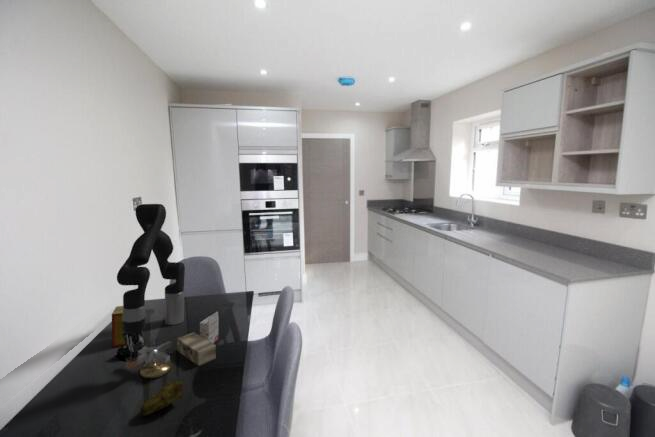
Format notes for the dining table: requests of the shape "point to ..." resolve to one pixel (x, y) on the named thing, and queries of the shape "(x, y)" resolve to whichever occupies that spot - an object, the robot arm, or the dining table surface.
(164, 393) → the potato
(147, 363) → the capstan
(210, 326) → the ink cartridge box
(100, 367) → the dining table surface
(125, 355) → the black angular block
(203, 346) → the cardboard box
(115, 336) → the baking soda box
